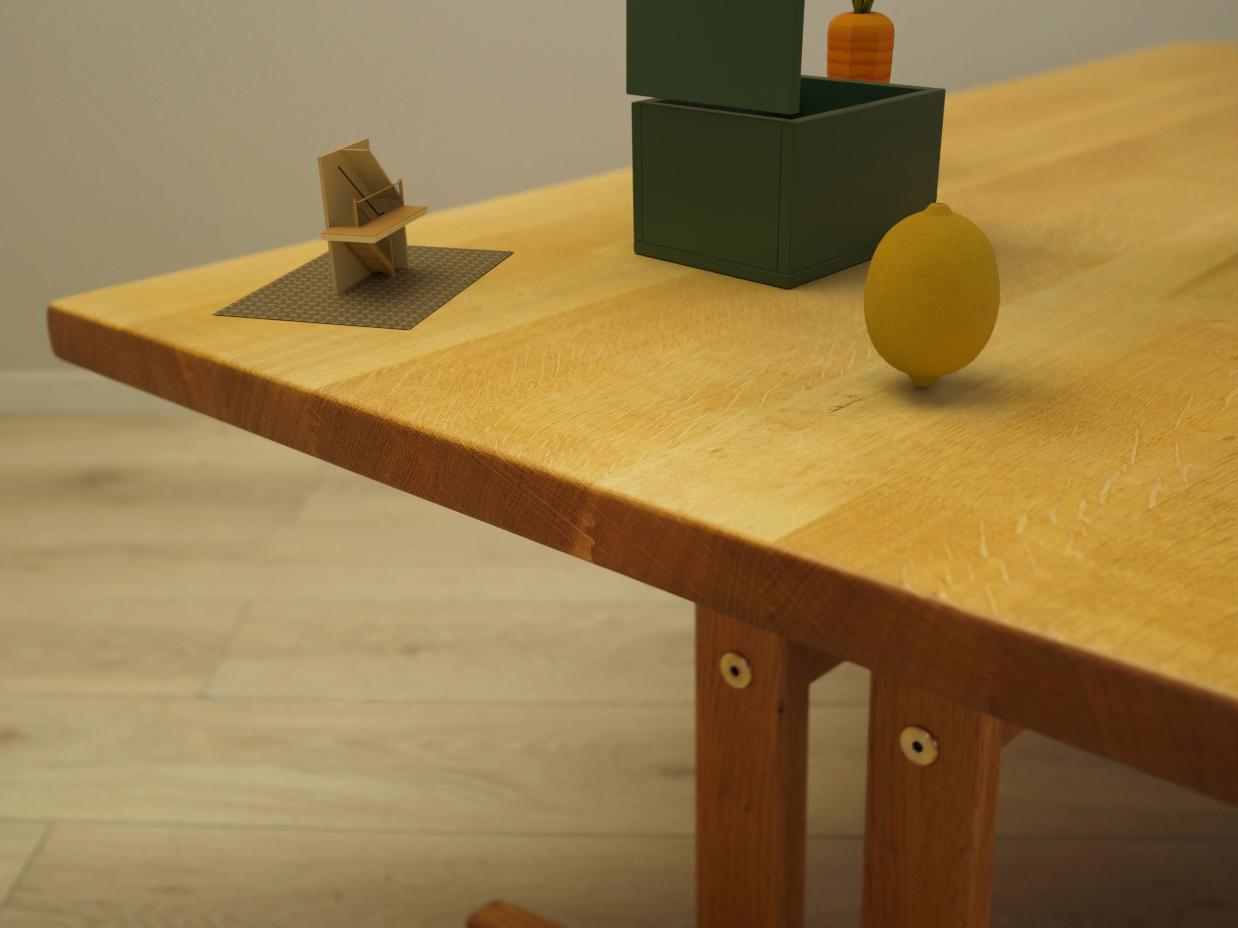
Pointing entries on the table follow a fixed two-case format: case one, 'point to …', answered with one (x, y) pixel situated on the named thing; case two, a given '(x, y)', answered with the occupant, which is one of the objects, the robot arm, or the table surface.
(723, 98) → the bin lid
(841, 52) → the carrot
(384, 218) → the architectural model
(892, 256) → the lemon
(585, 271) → the table surface
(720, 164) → the bin
